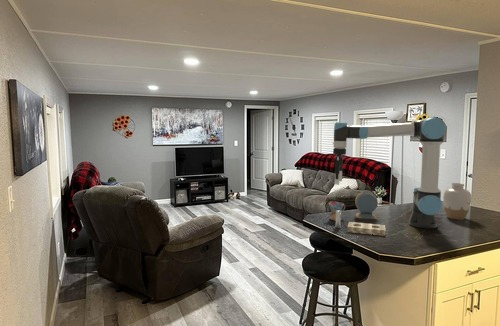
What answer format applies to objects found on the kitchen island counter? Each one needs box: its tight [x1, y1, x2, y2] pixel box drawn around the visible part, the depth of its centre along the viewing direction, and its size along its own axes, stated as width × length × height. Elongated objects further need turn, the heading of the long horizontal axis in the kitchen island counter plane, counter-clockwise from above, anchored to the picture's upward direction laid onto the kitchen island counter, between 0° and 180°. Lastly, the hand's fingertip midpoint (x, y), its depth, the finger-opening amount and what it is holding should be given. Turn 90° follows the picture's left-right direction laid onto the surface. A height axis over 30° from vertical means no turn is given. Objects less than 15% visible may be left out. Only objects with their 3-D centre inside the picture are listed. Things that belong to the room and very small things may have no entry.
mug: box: [328, 201, 346, 222], centre depth 217 cm, size 12×9×11 cm
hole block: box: [347, 221, 386, 237], centre depth 193 cm, size 20×11×3 cm, turn 70°
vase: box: [442, 182, 472, 221], centre depth 222 cm, size 16×16×23 cm
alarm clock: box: [354, 189, 379, 220], centre depth 224 cm, size 14×10×18 cm
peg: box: [334, 210, 342, 229], centre depth 200 cm, size 3×3×10 cm
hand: (338, 182), depth 205 cm, fingers open, 13 cm apart
